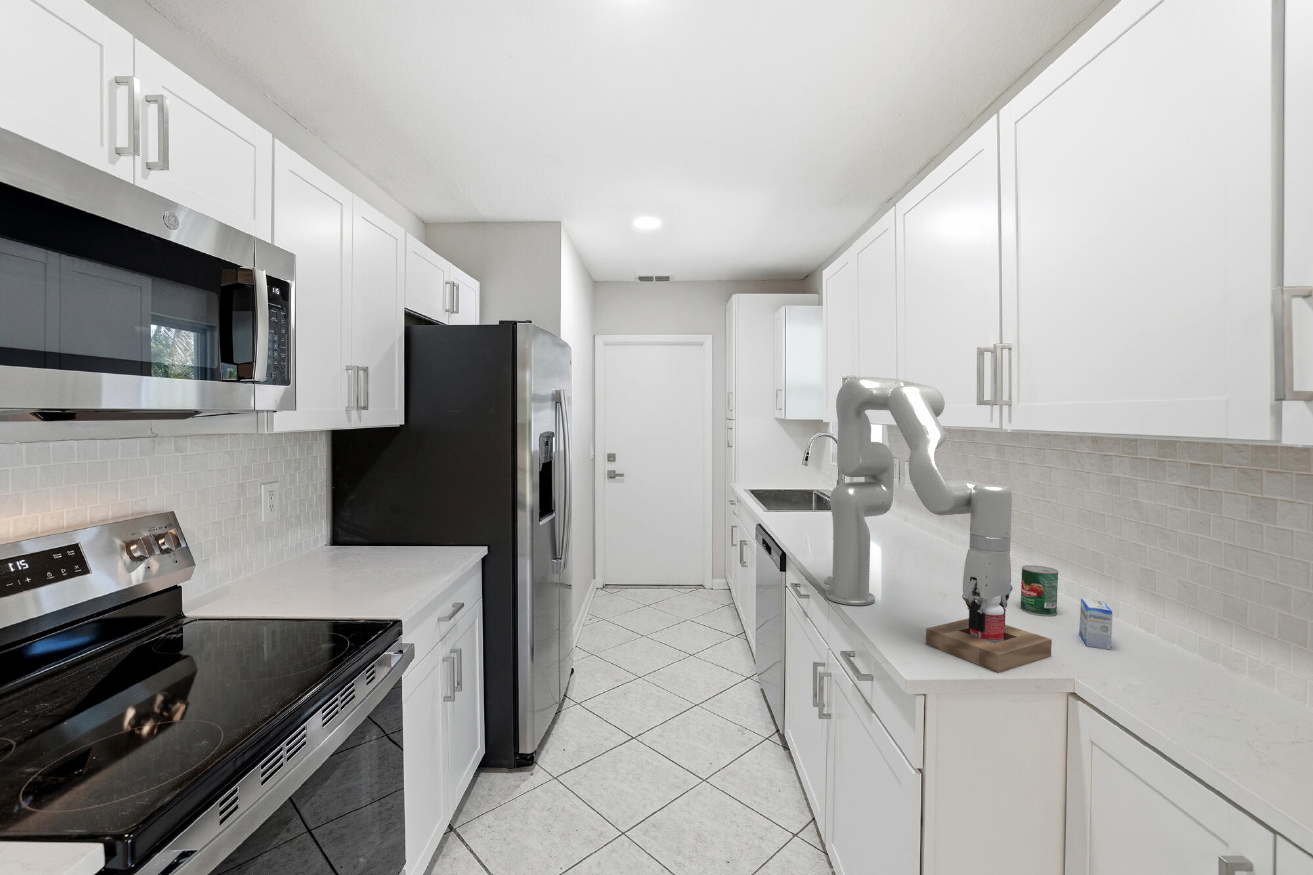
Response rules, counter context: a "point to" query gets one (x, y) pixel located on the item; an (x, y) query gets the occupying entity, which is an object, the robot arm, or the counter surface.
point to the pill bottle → (992, 621)
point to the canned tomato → (1039, 590)
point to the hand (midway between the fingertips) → (986, 626)
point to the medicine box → (1095, 623)
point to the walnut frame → (989, 646)
